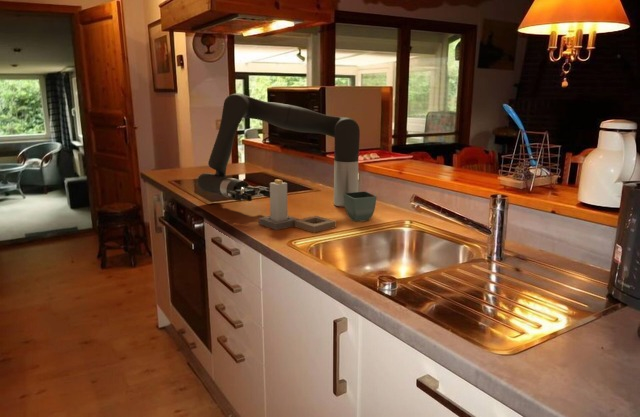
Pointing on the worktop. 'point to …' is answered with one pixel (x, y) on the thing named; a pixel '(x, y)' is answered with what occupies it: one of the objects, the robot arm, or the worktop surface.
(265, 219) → the socket
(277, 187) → the plug
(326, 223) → the socket
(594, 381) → the worktop surface
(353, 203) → the flower pot
